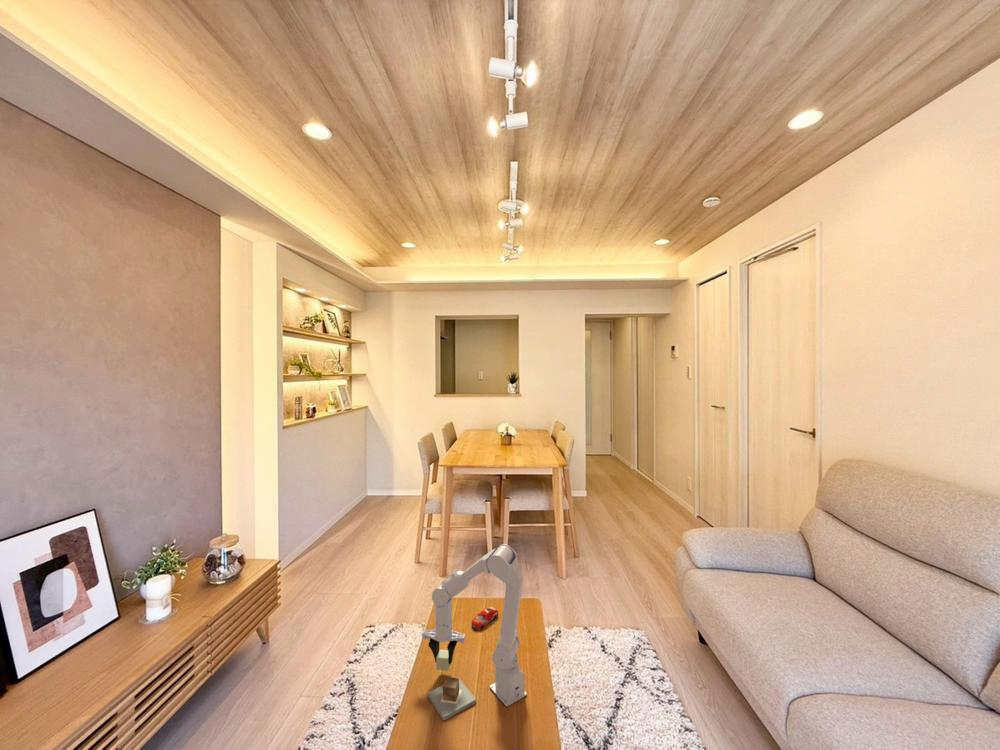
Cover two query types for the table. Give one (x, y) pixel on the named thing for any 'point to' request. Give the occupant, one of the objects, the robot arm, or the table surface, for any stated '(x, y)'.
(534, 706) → the table surface
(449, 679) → the walnut cube
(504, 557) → the robot arm
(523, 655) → the table surface
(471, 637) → the table surface
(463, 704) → the baseplate
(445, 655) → the sage cube
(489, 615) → the race car
